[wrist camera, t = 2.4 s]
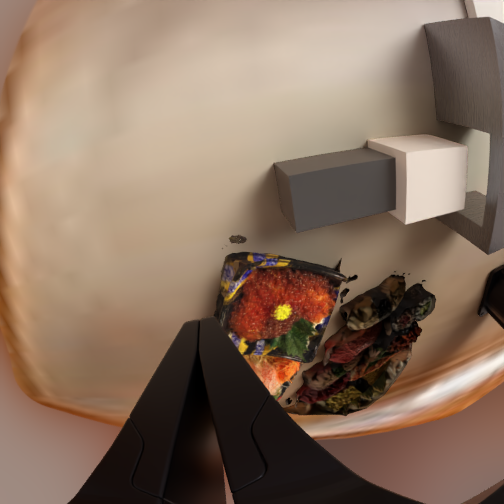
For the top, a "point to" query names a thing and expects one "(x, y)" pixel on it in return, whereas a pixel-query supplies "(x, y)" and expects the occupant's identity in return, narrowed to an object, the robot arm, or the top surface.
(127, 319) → the top surface
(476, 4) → the white mat
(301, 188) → the plug
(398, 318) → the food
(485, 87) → the grey notched block
